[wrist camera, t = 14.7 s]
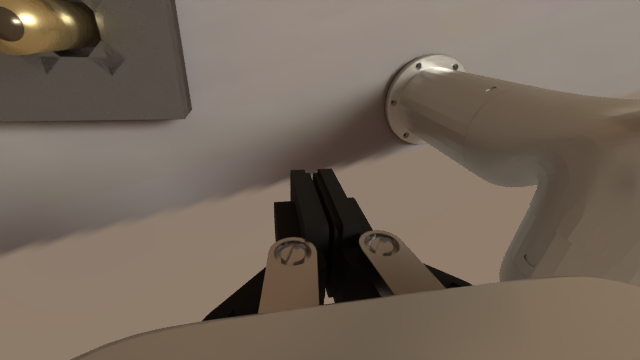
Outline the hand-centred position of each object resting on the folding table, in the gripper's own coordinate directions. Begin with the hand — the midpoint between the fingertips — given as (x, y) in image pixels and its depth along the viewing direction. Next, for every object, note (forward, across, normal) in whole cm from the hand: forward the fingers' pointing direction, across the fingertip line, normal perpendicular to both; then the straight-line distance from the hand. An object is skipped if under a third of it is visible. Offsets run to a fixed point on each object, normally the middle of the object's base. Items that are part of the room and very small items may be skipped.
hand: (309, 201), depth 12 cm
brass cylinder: (+27, +19, -6) cm, 33 cm away
